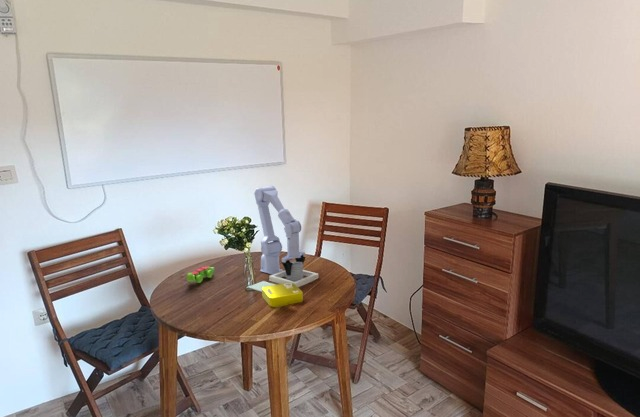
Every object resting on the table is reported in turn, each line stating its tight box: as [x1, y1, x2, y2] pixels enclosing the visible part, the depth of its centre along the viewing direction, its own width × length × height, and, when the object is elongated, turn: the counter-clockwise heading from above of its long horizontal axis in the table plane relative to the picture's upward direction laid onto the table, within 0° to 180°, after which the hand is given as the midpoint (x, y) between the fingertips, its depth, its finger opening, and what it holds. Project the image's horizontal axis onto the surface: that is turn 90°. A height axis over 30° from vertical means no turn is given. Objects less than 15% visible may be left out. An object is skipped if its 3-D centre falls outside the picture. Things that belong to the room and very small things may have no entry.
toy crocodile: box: [186, 266, 216, 284], centre depth 214 cm, size 20×7×6 cm, turn 157°
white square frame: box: [268, 269, 319, 288], centre depth 212 cm, size 17×17×2 cm
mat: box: [247, 280, 276, 293], centre depth 203 cm, size 10×10×1 cm
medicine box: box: [285, 261, 304, 282], centre depth 211 cm, size 8×4×9 cm, turn 80°
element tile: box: [261, 283, 304, 308], centre depth 189 cm, size 15×15×5 cm
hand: (293, 273), depth 211 cm, fingers open, 7 cm apart
